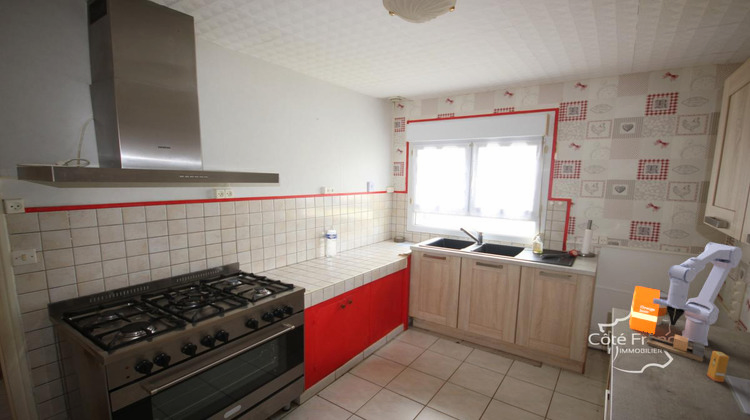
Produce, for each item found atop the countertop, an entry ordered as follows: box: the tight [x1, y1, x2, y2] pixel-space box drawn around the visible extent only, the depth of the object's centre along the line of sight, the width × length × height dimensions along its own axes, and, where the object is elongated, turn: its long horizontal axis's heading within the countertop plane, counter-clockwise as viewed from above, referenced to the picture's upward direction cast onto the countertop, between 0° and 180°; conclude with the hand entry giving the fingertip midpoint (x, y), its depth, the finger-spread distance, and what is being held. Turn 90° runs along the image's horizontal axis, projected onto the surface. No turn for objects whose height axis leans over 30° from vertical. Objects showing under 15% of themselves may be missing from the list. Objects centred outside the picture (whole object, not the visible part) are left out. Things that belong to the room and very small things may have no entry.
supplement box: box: [706, 350, 730, 383], centre depth 116 cm, size 3×3×10 cm
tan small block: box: [673, 334, 689, 351], centre depth 133 cm, size 5×4×4 cm
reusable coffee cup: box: [645, 286, 669, 326], centre depth 158 cm, size 13×13×15 cm
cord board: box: [646, 333, 706, 363], centre depth 135 cm, size 9×17×5 cm, turn 46°
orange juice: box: [628, 285, 661, 335], centre depth 150 cm, size 8×9×20 cm
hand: (672, 324), depth 137 cm, fingers closed
